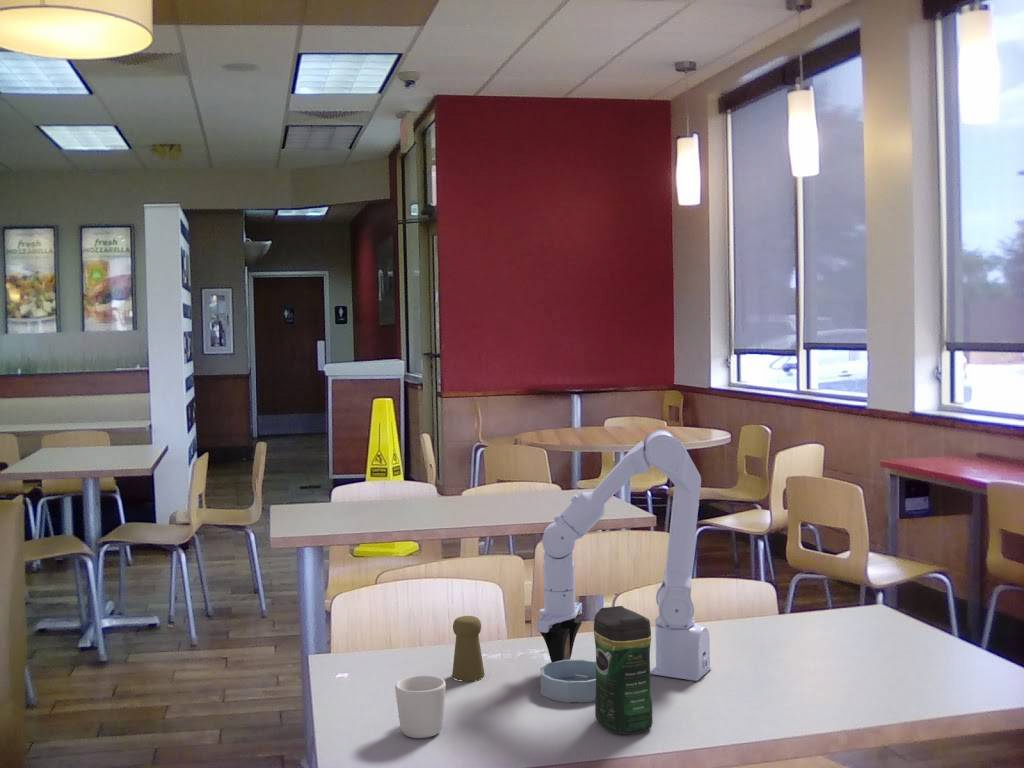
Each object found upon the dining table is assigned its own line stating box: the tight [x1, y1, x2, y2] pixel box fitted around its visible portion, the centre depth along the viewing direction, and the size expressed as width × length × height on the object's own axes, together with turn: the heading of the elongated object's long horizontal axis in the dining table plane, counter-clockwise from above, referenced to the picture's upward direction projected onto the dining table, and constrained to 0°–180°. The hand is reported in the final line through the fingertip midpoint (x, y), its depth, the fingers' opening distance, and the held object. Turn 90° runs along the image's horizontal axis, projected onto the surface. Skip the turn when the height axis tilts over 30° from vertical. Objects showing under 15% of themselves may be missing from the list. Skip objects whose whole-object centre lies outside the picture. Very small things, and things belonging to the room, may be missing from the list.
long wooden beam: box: [564, 633, 571, 660], centre depth 194 cm, size 2×2×7 cm
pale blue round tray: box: [539, 658, 596, 704], centre depth 184 cm, size 12×12×4 cm
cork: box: [451, 615, 486, 682], centre depth 192 cm, size 6×6×11 cm
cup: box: [394, 674, 447, 739], centre depth 167 cm, size 11×8×8 cm
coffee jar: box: [593, 605, 654, 735], centre depth 167 cm, size 10×8×19 cm
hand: (561, 660), depth 194 cm, fingers closed on long wooden beam, 2 cm apart
